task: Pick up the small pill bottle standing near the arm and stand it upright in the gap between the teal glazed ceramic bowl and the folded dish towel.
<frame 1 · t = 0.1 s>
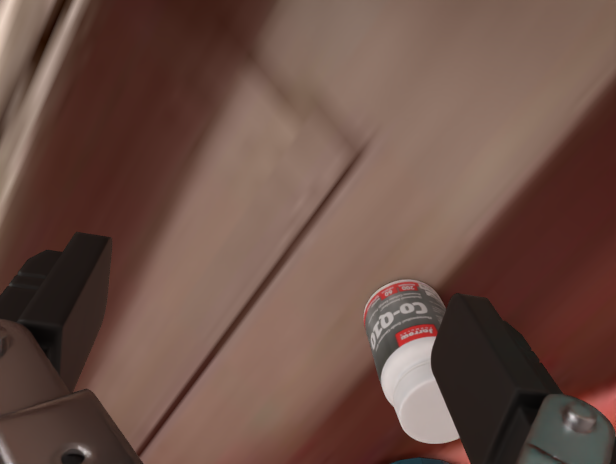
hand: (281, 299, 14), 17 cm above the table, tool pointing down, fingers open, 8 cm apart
pill bottle: (401, 310, 35), on the table
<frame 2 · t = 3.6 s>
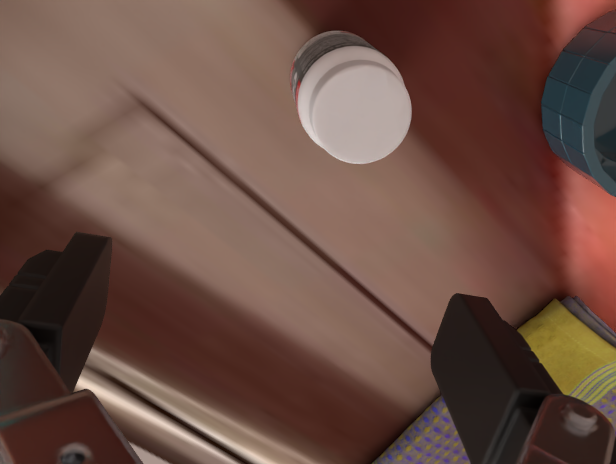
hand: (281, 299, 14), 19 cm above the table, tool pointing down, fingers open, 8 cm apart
pill bottle: (334, 76, 31), on the table
dish towel: (510, 449, 43), on the table
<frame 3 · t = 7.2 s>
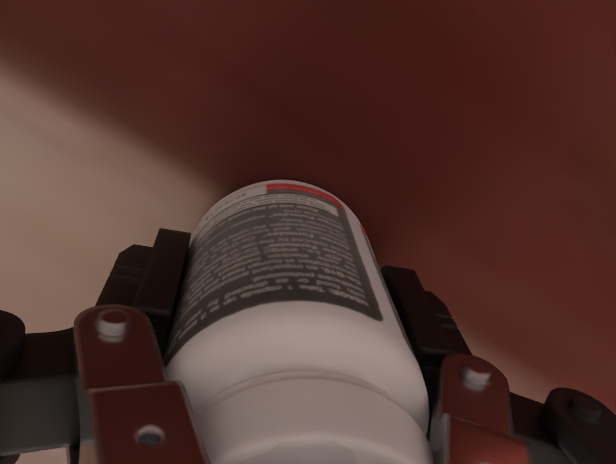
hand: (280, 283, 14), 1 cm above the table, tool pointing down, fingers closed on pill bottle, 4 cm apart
pill bottle: (279, 257, 16), on the table, touching gripper
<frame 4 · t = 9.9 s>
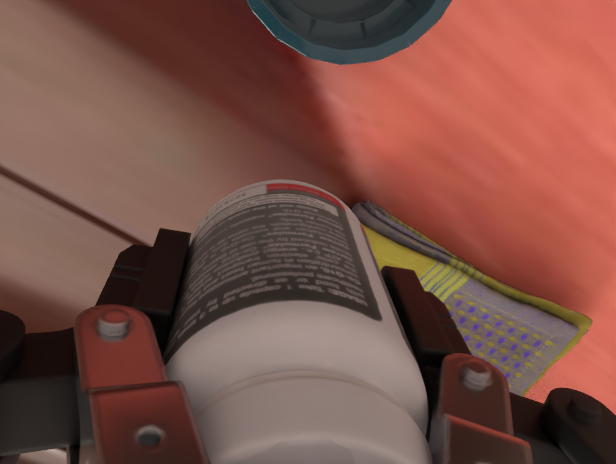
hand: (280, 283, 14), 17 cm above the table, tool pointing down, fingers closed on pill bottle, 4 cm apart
pill bottle: (279, 257, 16), point 16 cm above the table, touching gripper
dish towel: (363, 392, 38), on the table
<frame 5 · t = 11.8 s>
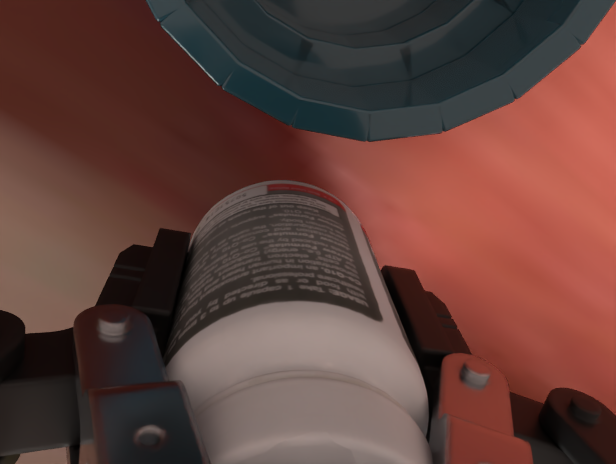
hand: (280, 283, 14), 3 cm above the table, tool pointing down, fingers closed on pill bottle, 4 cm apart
pill bottle: (280, 257, 16), point 2 cm above the table, touching gripper
when the fingers open (1 cm above the table, at t = 12.9 s): pill bottle stays where it is, on the table.
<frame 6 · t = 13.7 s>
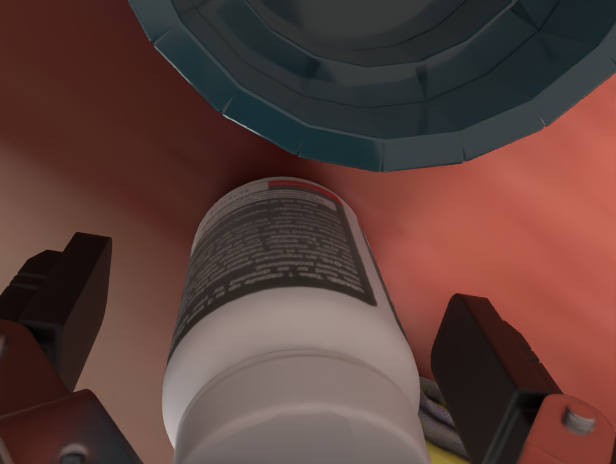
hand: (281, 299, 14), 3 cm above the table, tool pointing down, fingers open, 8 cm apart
pill bottle: (280, 251, 16), on the table
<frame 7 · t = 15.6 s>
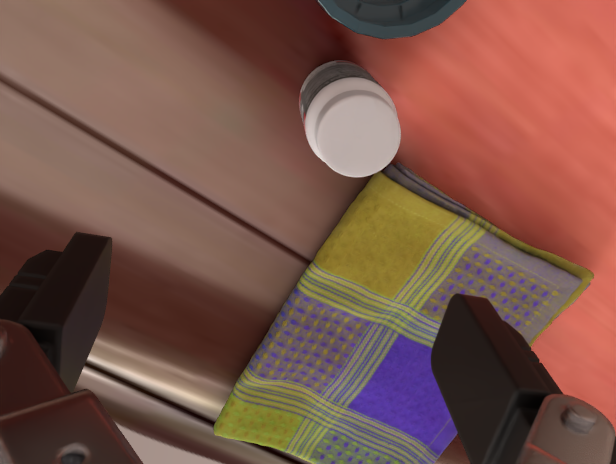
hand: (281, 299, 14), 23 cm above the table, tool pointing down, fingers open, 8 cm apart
pill bottle: (337, 99, 35), on the table
dish towel: (389, 339, 43), on the table
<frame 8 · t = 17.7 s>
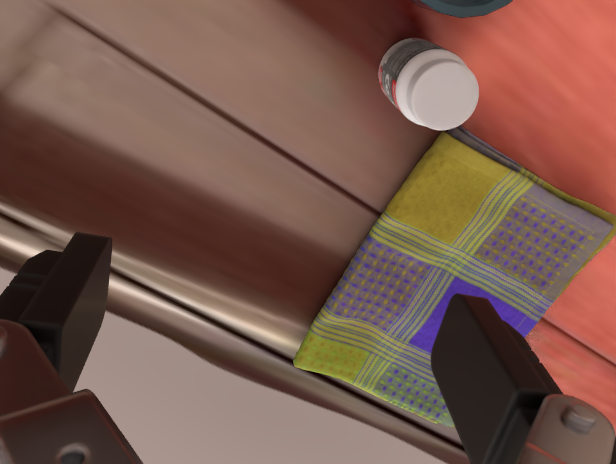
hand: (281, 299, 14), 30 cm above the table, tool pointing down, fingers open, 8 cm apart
pill bottle: (410, 71, 42), on the table
dish towel: (444, 283, 50), on the table
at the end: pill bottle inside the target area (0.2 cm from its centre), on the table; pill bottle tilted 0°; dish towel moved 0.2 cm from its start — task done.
